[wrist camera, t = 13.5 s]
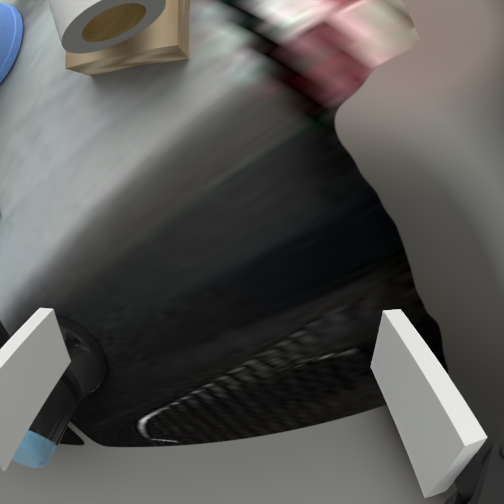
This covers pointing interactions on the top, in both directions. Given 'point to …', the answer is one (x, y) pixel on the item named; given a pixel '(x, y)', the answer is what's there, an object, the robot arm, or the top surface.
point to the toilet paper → (102, 21)
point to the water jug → (9, 37)
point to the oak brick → (141, 45)
